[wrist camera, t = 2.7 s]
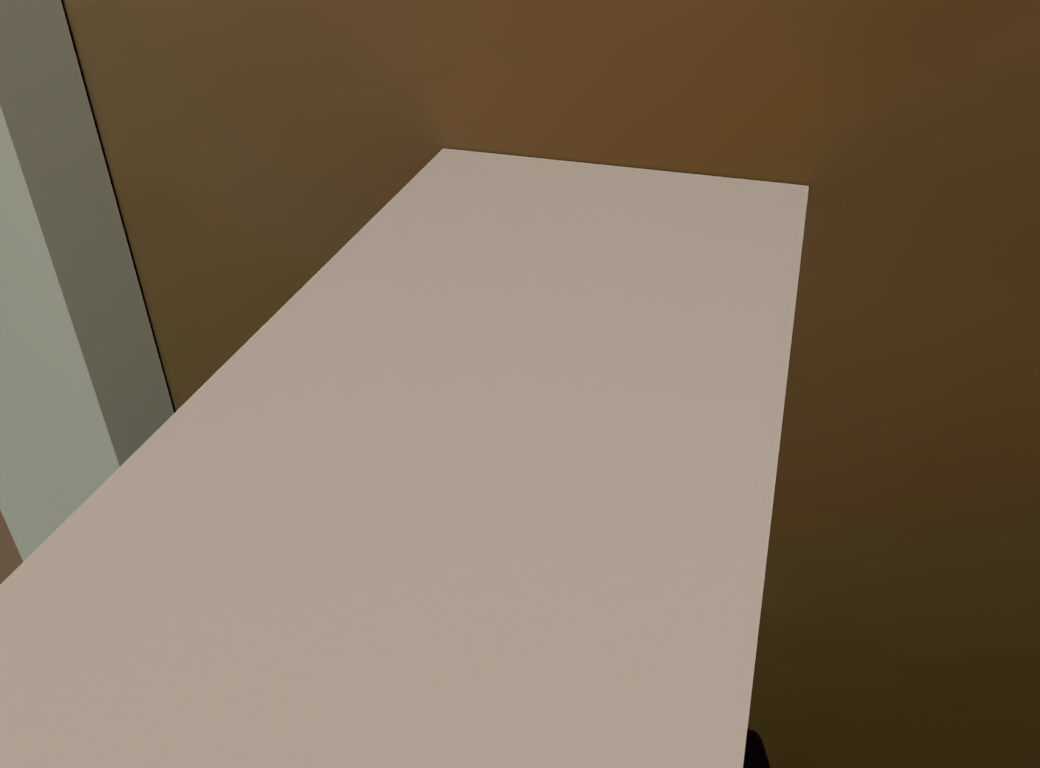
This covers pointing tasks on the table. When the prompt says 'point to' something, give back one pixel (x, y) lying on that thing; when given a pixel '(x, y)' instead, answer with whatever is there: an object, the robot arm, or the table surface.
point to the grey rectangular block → (445, 499)
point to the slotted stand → (62, 294)
